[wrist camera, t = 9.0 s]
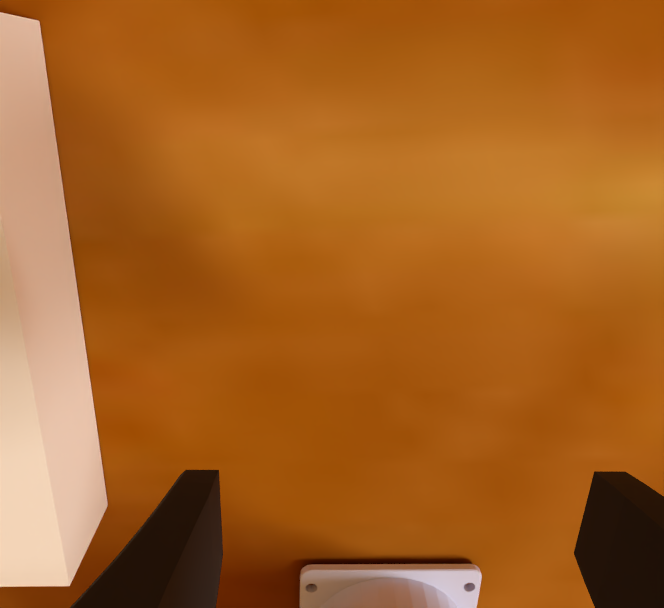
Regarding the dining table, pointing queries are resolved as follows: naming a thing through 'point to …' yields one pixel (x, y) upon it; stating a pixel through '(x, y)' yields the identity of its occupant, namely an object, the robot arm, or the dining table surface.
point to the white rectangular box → (40, 340)
